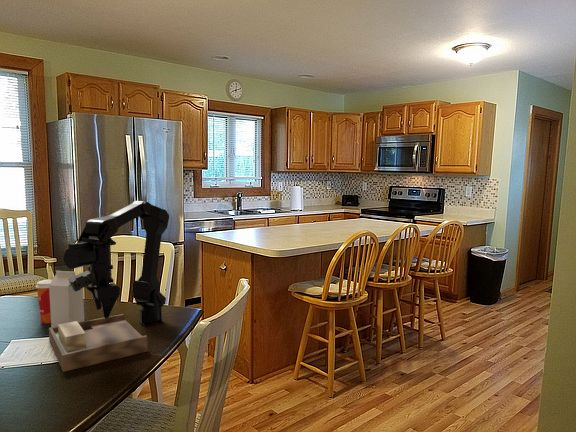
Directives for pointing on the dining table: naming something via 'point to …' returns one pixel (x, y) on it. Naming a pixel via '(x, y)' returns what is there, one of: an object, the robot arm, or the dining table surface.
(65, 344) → the cream rectangular block
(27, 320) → the dining table surface
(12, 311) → the dining table surface
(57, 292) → the milk carton
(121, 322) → the open tray box
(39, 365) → the dining table surface
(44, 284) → the paper cup
